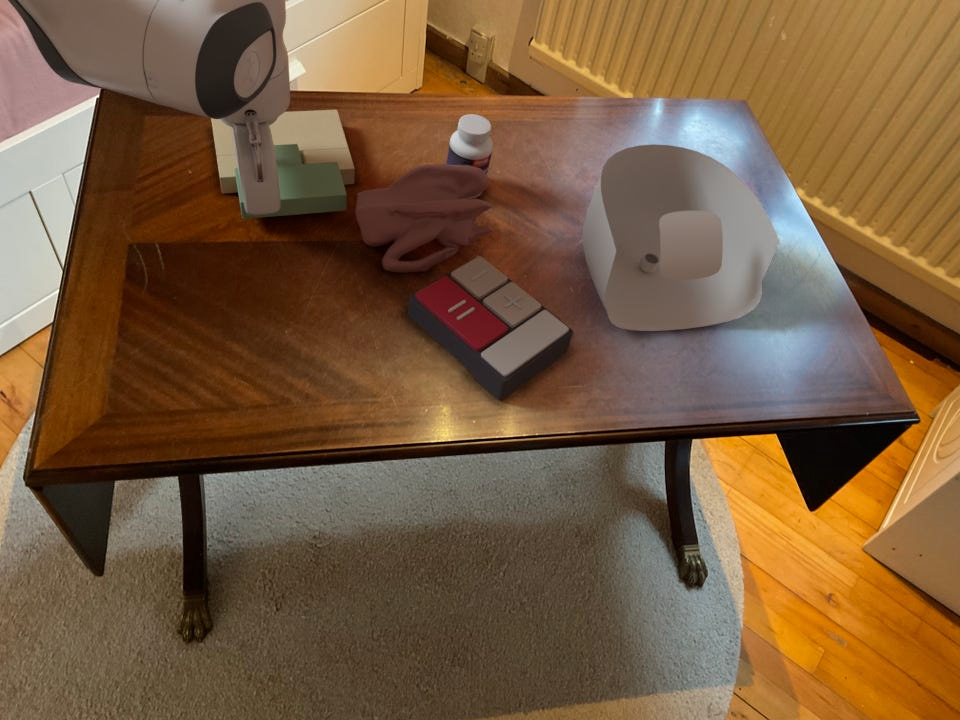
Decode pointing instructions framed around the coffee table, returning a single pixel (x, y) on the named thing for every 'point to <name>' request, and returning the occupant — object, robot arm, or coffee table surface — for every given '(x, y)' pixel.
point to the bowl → (675, 240)
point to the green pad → (303, 185)
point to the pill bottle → (471, 143)
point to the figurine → (424, 214)
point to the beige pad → (308, 129)
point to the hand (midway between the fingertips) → (256, 189)
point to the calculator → (490, 326)
